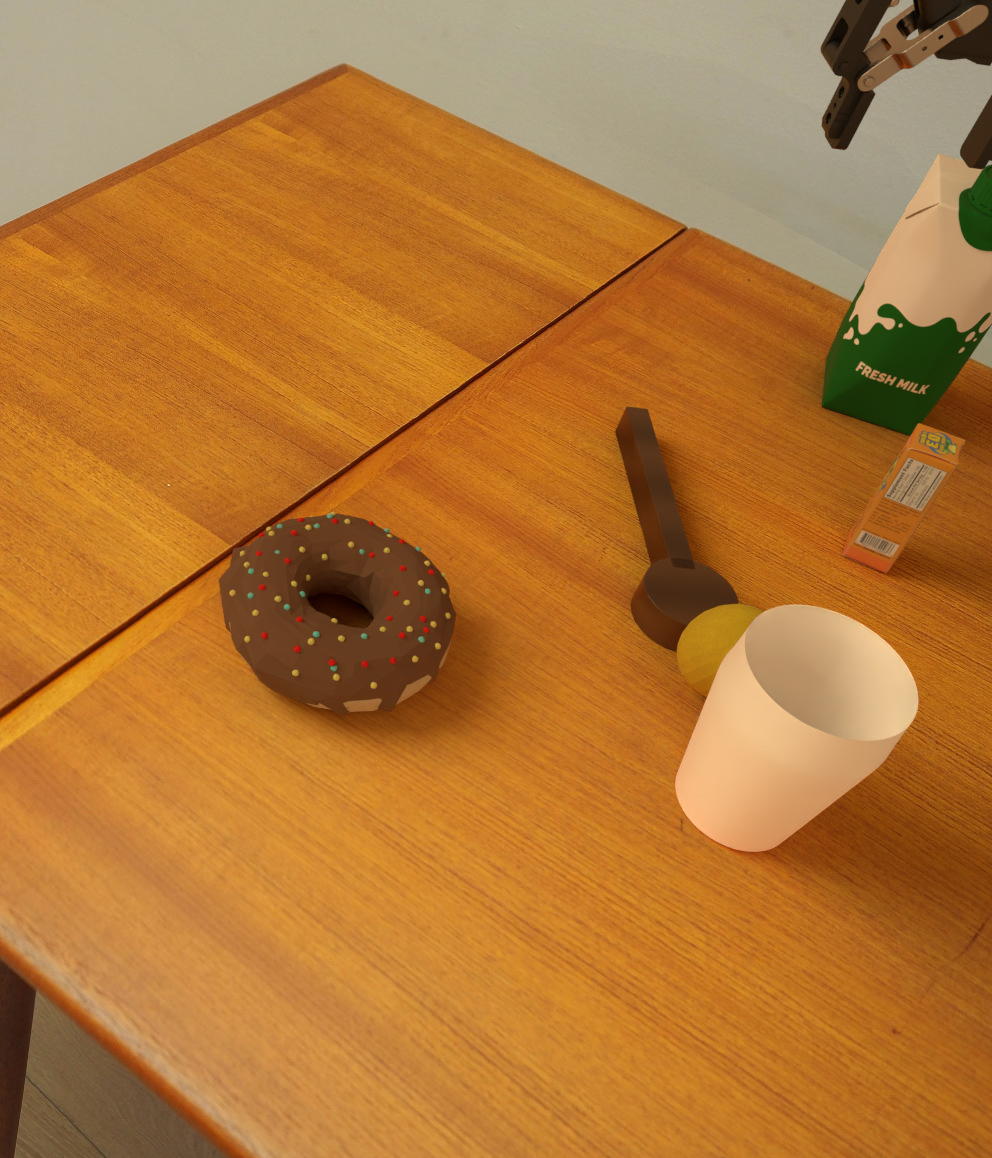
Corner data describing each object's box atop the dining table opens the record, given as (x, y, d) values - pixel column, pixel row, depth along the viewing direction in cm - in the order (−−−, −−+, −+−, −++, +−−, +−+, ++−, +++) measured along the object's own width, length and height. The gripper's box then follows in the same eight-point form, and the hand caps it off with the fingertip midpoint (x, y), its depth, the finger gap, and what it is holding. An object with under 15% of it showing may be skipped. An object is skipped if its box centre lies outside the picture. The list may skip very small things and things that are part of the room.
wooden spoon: (585, 427, 96) (596, 402, 94) (665, 437, 96) (677, 412, 94) (640, 648, 81) (654, 623, 80) (733, 658, 82) (749, 633, 80)
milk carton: (808, 410, 101) (946, 176, 86) (815, 346, 107) (945, 118, 92) (924, 448, 99) (1084, 216, 85) (924, 381, 105) (1074, 155, 91)
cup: (622, 793, 74) (707, 658, 65) (704, 711, 78) (794, 575, 70) (762, 903, 70) (873, 776, 61) (839, 810, 75) (951, 680, 66)
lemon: (650, 701, 79) (712, 673, 71) (660, 614, 81) (721, 578, 73) (738, 721, 79) (809, 695, 72) (746, 634, 81) (816, 600, 73)
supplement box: (846, 527, 92) (919, 417, 84) (894, 549, 91) (973, 440, 83) (835, 554, 90) (910, 444, 82) (885, 577, 89) (965, 468, 81)
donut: (327, 524, 85) (342, 467, 82) (487, 655, 79) (511, 600, 76) (161, 622, 78) (170, 564, 74) (324, 775, 72) (341, 721, 68)
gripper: (956, -132, 63) (805, 170, 75) (1231, -90, 64) (1040, 202, 76) (905, -184, 69) (771, 107, 80) (1161, -144, 70) (991, 137, 81)
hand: (902, 153), depth 78 cm, fingers open, 8 cm apart
